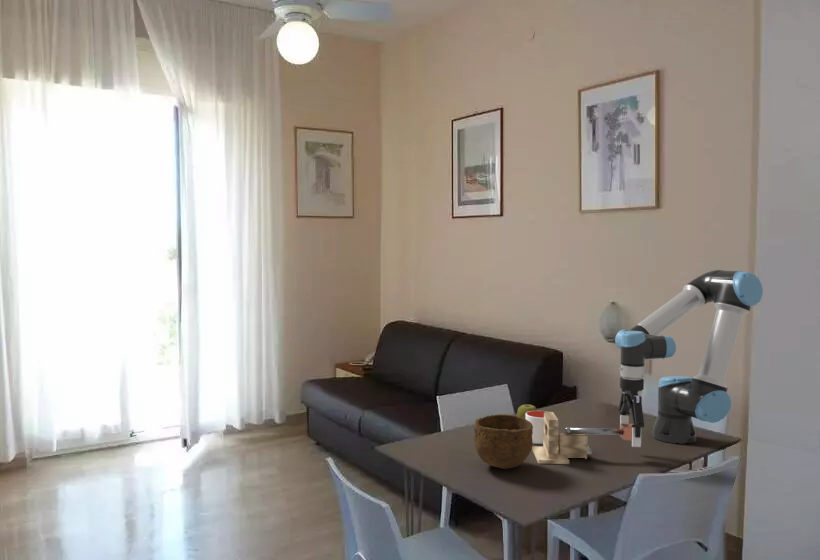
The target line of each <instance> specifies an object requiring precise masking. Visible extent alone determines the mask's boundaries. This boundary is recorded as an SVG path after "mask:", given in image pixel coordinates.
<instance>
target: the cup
mask: <svg viewBox="0 0 820 560" xmlns="http://www.w3.org/2000/svg"><path fill="white" fill-rule="evenodd" d="M544 412H547V411H545V410H537V411H529V412H526V418H525V419H526V420H528V421H530V422H531V423H532V426H533V434H532V441H533V443H532V445H533V444H535V445H543V436H544Z"/></svg>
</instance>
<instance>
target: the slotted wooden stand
mask: <svg viewBox="0 0 820 560" xmlns="http://www.w3.org/2000/svg"><path fill="white" fill-rule="evenodd" d="M588 437H589V435H588V434H565V432H559V419H558V417H557V416H556V415H555V413H554V412H553V411H546V412H544V436H543V444H542V445H541V446H540V445H539V446H537V445H536V446H535V445H534V446H533V445H532V450H531V452H533V455H534V456H535V459H536V461H537V463H538V464H540V465H541V464H549V465H553V464H554V465H570V459H568V458H585V459H584V460H588V442H589V441H588Z"/></svg>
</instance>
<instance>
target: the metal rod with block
mask: <svg viewBox="0 0 820 560" xmlns="http://www.w3.org/2000/svg"><path fill="white" fill-rule="evenodd" d="M632 425H633V423H629V424H620V423H619V428H603V427H602V428H601V427H600V428H597V427H596V428H595V427H569V426H568V427H565V428H563V431H564V432H563V433H565V434H586V435H603V436H604V435H605V436H606V435H607V436H608V435H609V436H615V435H616V436H619V437H620V438H621V439H622V440H623V441H632V427H631V426H632Z"/></svg>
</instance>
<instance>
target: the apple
mask: <svg viewBox="0 0 820 560" xmlns="http://www.w3.org/2000/svg"><path fill="white" fill-rule="evenodd" d="M516 411H517V412H516V413H517V414H516V416H517V417H521V418H524V419H525V418H526V412H529V411H538V408H537V407H536V406H535V405H532V404H521V405H520V406H519V407H518V408H517V410H516Z"/></svg>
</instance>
